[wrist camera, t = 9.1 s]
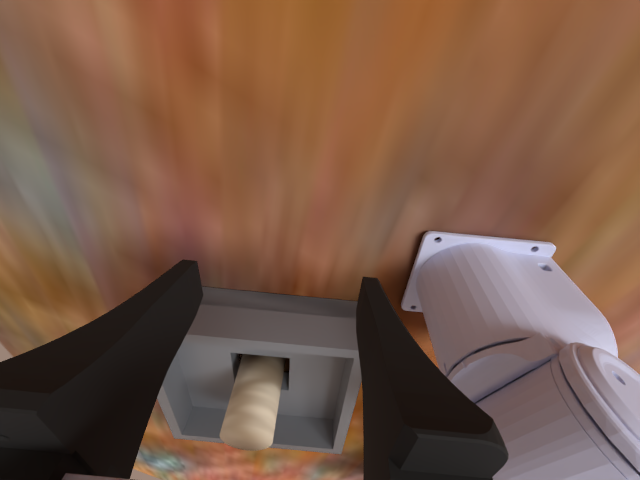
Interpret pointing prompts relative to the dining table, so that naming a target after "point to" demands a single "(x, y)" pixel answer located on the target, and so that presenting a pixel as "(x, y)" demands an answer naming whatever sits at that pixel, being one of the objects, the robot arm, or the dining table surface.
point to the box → (277, 341)
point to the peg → (253, 403)
